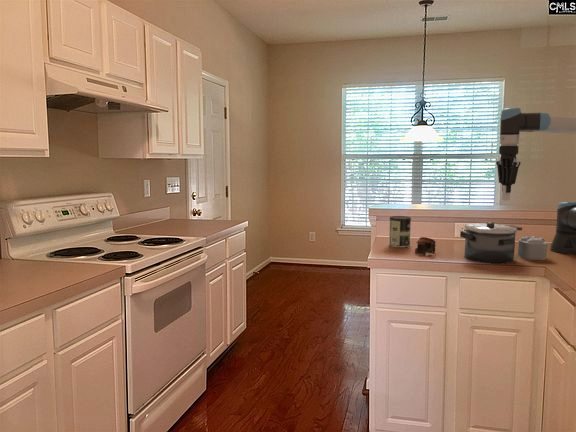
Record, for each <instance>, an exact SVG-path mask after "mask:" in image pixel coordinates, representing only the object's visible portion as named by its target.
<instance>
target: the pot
mask: <svg viewBox="0 0 576 432" xmlns="http://www.w3.org/2000/svg"><path fill="white" fill-rule="evenodd" d="M459 233H460V234H459V236H460V237H461V238H464V241H465V242H464V253H463V254H464V255H463V256H464V259H466V260H469V261H472V262H476V263H481V264H493V265H494V264H495V265H497V264H502V263H504V264H509V263H512V262H514V260H515V250H516V249H515V247H516V246H515V245H516V233H514V234H504V235H497V234H482V233H475V232H470V231H467V230H461V231H460V232H459ZM502 265H503V264H502Z"/></svg>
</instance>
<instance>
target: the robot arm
mask: <svg viewBox="0 0 576 432" xmlns="http://www.w3.org/2000/svg"><path fill="white" fill-rule="evenodd" d="M499 131H500V133H499V147H498V154H499V155H500V159H499V160H497V161H496V162H495V164H496V166H497V173H498V174H497V175H498V183H499V184H501V187H502V189H501V191H502V195H501V198H502V199H501V200H502V201H511V192H512V186H513V185H515V184H516V182H517V181H516V180H517V176H518V172H519V168H520V165H521V164H522V163H521V161H518V160H517V155H518V154H519V150H520V149H519V144H520V132H522V133H524V132H525V133H543V134H544V133H547V134H550V133H551V134H568V135H569V134H571V135H576V116H562V115H561V116H560V115H550V114H549V113H547V112H542V111H540V112H522V110H521V108H519V107H505V108H502V110H501V113H500V127H499ZM556 211H557V212H556V213H557V214H556V226H555V234H554V237H553V239H552V242H551V243H550V248H549V249H550V251H552V252H556V253H560V254H568V255H576V201H567V202H566V201H564V202H563V201H562V202H559V203H558V205H557V210H556Z"/></svg>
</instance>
